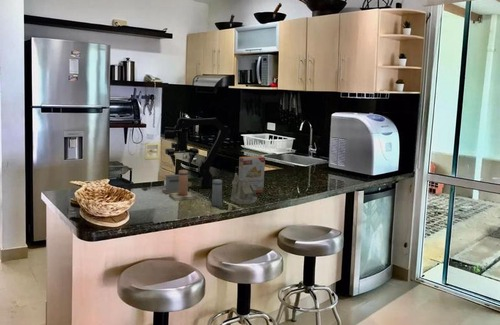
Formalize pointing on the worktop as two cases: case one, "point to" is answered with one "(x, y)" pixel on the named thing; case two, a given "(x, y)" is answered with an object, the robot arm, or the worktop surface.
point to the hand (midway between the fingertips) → (182, 165)
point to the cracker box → (252, 171)
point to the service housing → (172, 184)
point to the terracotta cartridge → (183, 182)
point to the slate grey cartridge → (217, 192)
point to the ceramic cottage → (242, 192)
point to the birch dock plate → (182, 196)
